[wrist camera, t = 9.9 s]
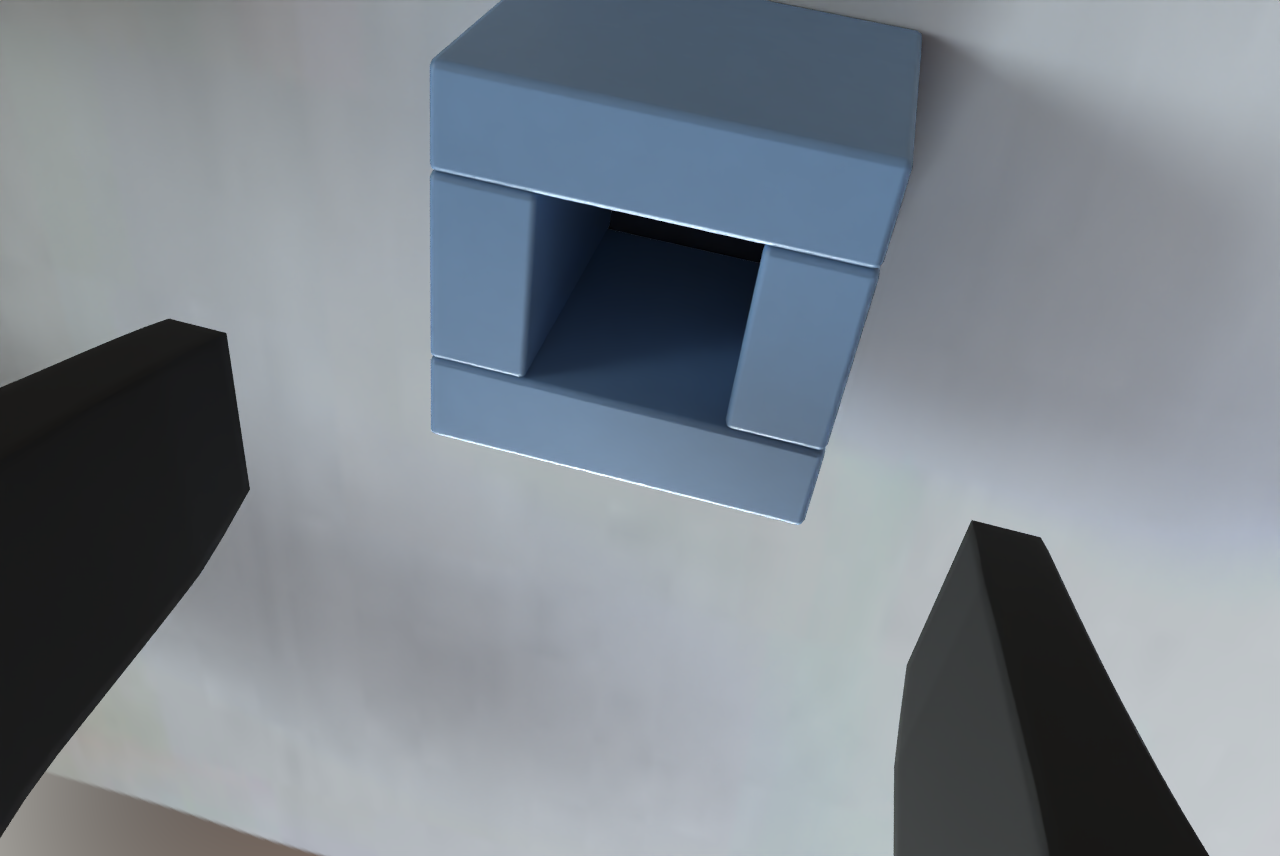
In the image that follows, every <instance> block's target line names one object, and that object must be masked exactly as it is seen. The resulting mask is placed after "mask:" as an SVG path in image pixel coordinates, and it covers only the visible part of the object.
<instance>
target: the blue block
mask: <svg viewBox="0 0 1280 856" xmlns="http://www.w3.org/2000/svg"><path fill="white" fill-rule="evenodd" d="M921 47H922V35H921V33H919V32H918V31H916V30H911V29H906V28H901V27H896V26H891V25H886V24H881V23H876V22H871V21H866V20H861V19H856V18H851V17H846V16H841V15H836V14H831V13H826V12H821V11H816V10H811V9H806V8H801V7H796V6H791V5H786V4H781V3H776V2H771V1H766V0H501V1H500V2H499V3H498V4H496V5H495V6H494V7H493V8H492V9H491V10H489V11H488V12H487V13H486V14H485V15H484V16H482V17H481V18H480V19H479V20H478V21H476V22H475V23H474V24H473V25H472V26H471V27H469V28H468V29H467V30H466V31H465V32H464V33H462V34H461V35H460V36H459V37H458V38H457V39H455V40H454V41H453V42H452V43H451V44H450V45H448V46H447V47H446V48H445V49H444V50H443V51H441V52H440V53H439V54H438V55H437V56H436V57H434V58H433V59H432V61H431V64H430V164H431V167H432V168H433V169H434V170H433V171H432V173H431V175H430V277H431V353H432V355H433V357H432V359H431V430H432V432H433V433H435V434H438V435H442V436H446V437H450V438H454V439H458V440H462V441H466V442H470V443H474V444H478V445H482V446H486V447H490V448H494V449H498V450H502V451H506V452H510V453H514V454H518V455H522V456H526V457H530V458H534V459H538V460H542V461H546V462H550V463H553V464H557V465H561V466H565V467H569V468H573V469H577V470H581V471H585V472H589V473H593V474H597V475H601V476H605V477H609V478H613V479H617V480H621V481H625V482H629V483H633V484H637V485H641V486H645V487H649V488H653V489H657V490H661V491H665V492H669V493H673V494H677V495H681V496H685V497H689V498H693V499H697V500H701V501H705V502H709V503H713V504H716V505H720V506H724V507H728V508H732V509H736V510H740V511H744V512H748V513H752V514H756V515H760V516H764V517H768V518H772V519H776V520H780V521H784V522H788V523H792V524H796V525H797V524H801V523H802V522H803V521H804V520H805V517H806V513H807V510H808V507H809V504H810V500H811V497H812V494H813V491H814V487H815V484H816V481H817V478H818V474H819V471H820V468H821V464H822V461H823V458H824V454H825V447H826V445H827V444H828V442H829V438H830V435H831V432H832V428H833V425H834V422H835V419H836V415H837V412H838V409H839V406H840V402H841V399H842V396H843V393H844V389H845V386H846V383H847V380H848V376H849V373H850V370H851V367H852V363H853V360H854V357H855V354H856V350H857V347H858V344H859V340H860V337H861V334H862V331H863V327H864V324H865V321H866V318H867V314H868V311H869V308H870V305H871V301H872V298H873V295H874V292H875V288H876V285H877V282H878V279H879V272H880V265H881V264H882V263H883V262H884V259H885V256H886V252H887V249H888V246H889V243H890V239H891V236H892V233H893V230H894V226H895V223H896V220H897V217H898V213H899V210H900V207H901V203H902V200H903V197H904V194H905V190H906V187H907V184H908V181H909V177H910V174H911V171H912V167H913V154H914V140H915V127H916V113H917V100H918V87H919V73H920V60H921ZM612 210H614V211H619V212H623V213H628V214H632V215H637V216H641V217H646V218H650V219H654V220H659V221H663V222H668V223H672V224H677V225H681V226H686V227H690V228H695V229H699V230H704V231H708V232H712V233H717V234H721V235H726V236H730V237H735V238H739V239H744V240H748V241H753V242H757V243H762V244H765V246H764V249H763V253H762V257H761V262H760V263H758V262H753V261H749V260H744V259H740V258H735V257H731V256H727V255H722V254H718V253H713V252H709V251H704V250H700V249H696V248H691V247H687V246H682V245H678V244H673V243H669V242H665V241H660V240H656V239H651V238H647V237H643V236H638V235H634V234H629V233H625V232H620V231H616V230H612V229H608V227H609V225H610V220H611V211H612Z"/></svg>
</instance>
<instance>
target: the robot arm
mask: <svg viewBox="0 0 1280 856" xmlns="http://www.w3.org/2000/svg"><path fill="white" fill-rule="evenodd" d="M249 490H250V487H249V481H248V474H247V467H246V461H245V454H244V448H243V441H242V434H241V428H240V421H239V414H238V408H237V401H236V394H235V388H234V381H233V374H232V368H231V361H230V354H229V348H228V341H227V334H226V333H224V332H220V331H216V330H212V329H208V328H204V327H200V326H196V325H192V324H188V323H184V322H180V321H176V320H172V319H166V320H164V321H161V322H158V323H155V324H152V325H150V326H147V327H144V328H141V329H139V330H136V331H134V332H131V333H129V334H126V335H124V336H121V337H119V338H116V339H114V340H111V341H109V342H107V343H104V344H102V345H99V346H97V347H95V348H92V349H90V350H88V351H85V352H83V353H81V354H78V355H76V356H74V357H71V358H69V359H66V360H64V361H62V362H60V363H57V364H55V365H53V366H50V367H48V368H46V369H43V370H41V371H39V372H36V373H34V374H32V375H29V376H27V377H25V378H22V379H20V380H18V381H15V382H13V383H11V384H8V385H6V386H4V387H1V388H0V837H1V836H2V834H3V833H4V831H5V830H6V828H7V827H8V825H9V823H10V822H11V820H12V819H13V817H14V815H15V814H16V812H17V811H18V809H19V808H20V806H21V805H22V803H23V802H24V800H25V799H26V797H27V796H28V794H29V793H30V792H31V790H32V789H33V788H34V786H35V785H36V783H37V782H38V781H39V779H40V778H41V776H42V775H43V774H44V772H45V771H46V770H47V768H48V767H49V766H50V764H51V763H52V762H53V760H54V759H55V758H56V756H57V755H58V754H59V752H60V751H61V750H62V749H63V747H64V746H65V745H66V743H67V742H68V741H69V740H70V738H71V737H72V736H73V735H74V733H75V732H76V731H77V730H78V728H79V727H80V726H81V725H82V723H83V722H84V721H85V720H86V718H87V717H88V716H89V715H90V713H91V712H92V711H93V710H94V708H95V707H96V706H97V705H98V703H99V702H100V701H101V700H102V698H103V697H104V696H105V694H106V693H107V692H108V691H109V689H110V688H111V687H112V686H113V684H114V683H115V682H116V681H117V679H118V678H119V677H120V676H121V674H122V673H123V672H124V671H125V669H126V668H127V667H128V666H129V664H130V663H131V662H132V661H133V659H134V658H135V657H136V656H137V654H138V653H139V652H140V651H141V649H142V648H143V647H144V646H145V644H146V643H147V642H148V641H149V639H150V638H151V637H152V635H153V634H154V633H155V632H156V630H157V629H158V628H159V626H160V625H161V624H162V623H163V621H164V620H165V619H166V618H167V616H168V615H169V614H170V612H171V611H172V610H173V609H174V607H175V606H176V605H177V603H178V602H179V601H180V600H181V598H182V597H183V596H184V594H185V593H186V592H187V591H188V589H189V588H190V587H191V585H192V584H193V583H194V581H195V580H196V579H197V577H198V576H199V575H200V573H201V572H202V570H203V569H204V567H205V565H206V564H207V562H208V560H209V559H210V557H211V555H212V554H213V552H214V551H215V549H216V547H217V546H218V544H219V542H220V541H221V539H222V538H223V536H224V534H225V532H226V531H227V529H228V527H229V525H230V524H231V522H232V520H233V518H234V516H235V515H236V513H237V511H238V509H239V508H240V506H241V504H242V502H243V500H244V499H245V497H246V495H247V493H248V492H249ZM894 856H1209V855H1208V853H1207V851H1206V850H1205V848H1204V846H1203V845H1202V843H1201V841H1200V840H1199V838H1198V837H1197V835H1196V833H1195V832H1194V830H1193V828H1192V827H1191V825H1190V823H1189V822H1188V820H1187V818H1186V817H1185V815H1184V813H1183V812H1182V810H1181V808H1180V806H1179V805H1178V803H1177V801H1176V800H1175V798H1174V796H1173V794H1172V793H1171V791H1170V789H1169V787H1168V786H1167V784H1166V782H1165V780H1164V779H1163V777H1162V775H1161V773H1160V772H1159V770H1158V768H1157V766H1156V764H1155V762H1154V761H1153V759H1152V757H1151V755H1150V753H1149V751H1148V749H1147V748H1146V746H1145V744H1144V742H1143V740H1142V738H1141V736H1140V735H1139V733H1138V731H1137V729H1136V727H1135V725H1134V724H1133V722H1132V720H1131V718H1130V716H1129V714H1128V712H1127V711H1126V709H1125V707H1124V705H1123V703H1122V701H1121V699H1120V697H1119V695H1118V694H1117V692H1116V690H1115V688H1114V686H1113V684H1112V682H1111V680H1110V678H1109V676H1108V674H1107V672H1106V670H1105V668H1104V666H1103V664H1102V662H1101V660H1100V658H1099V656H1098V654H1097V652H1096V650H1095V648H1094V646H1093V644H1092V642H1091V640H1090V638H1089V636H1088V634H1087V632H1086V629H1085V627H1084V625H1083V623H1082V621H1081V619H1080V617H1079V615H1078V613H1077V611H1076V609H1075V606H1074V604H1073V602H1072V600H1071V598H1070V596H1069V594H1068V592H1067V590H1066V587H1065V585H1064V583H1063V581H1062V579H1061V577H1060V575H1059V572H1058V570H1057V568H1056V566H1055V564H1054V562H1053V560H1052V558H1051V556H1050V553H1049V551H1048V549H1047V548H1046V546H1045V544H1044V542H1043V541H1042V539H1041V537H1037V536H1033V535H1029V534H1025V533H1021V532H1017V531H1013V530H1009V529H1005V528H1001V527H997V526H993V525H989V524H985V523H981V522H977V521H973V520H972V521H971V523H970V525H969V527H968V530H967V532H966V534H965V536H964V538H963V541H962V543H961V545H960V547H959V550H958V552H957V554H956V556H955V559H954V561H953V563H952V565H951V568H950V570H949V572H948V574H947V576H946V579H945V581H944V583H943V585H942V588H941V590H940V592H939V594H938V597H937V599H936V601H935V603H934V606H933V608H932V610H931V612H930V614H929V617H928V619H927V621H926V623H925V626H924V628H923V630H922V632H921V635H920V637H919V639H918V641H917V643H916V646H915V648H914V650H913V652H912V655H911V657H910V659H909V661H908V664H907V668H906V675H905V683H904V691H903V698H902V706H901V713H900V721H899V730H898V739H897V747H896V756H895V765H894Z"/></svg>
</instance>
